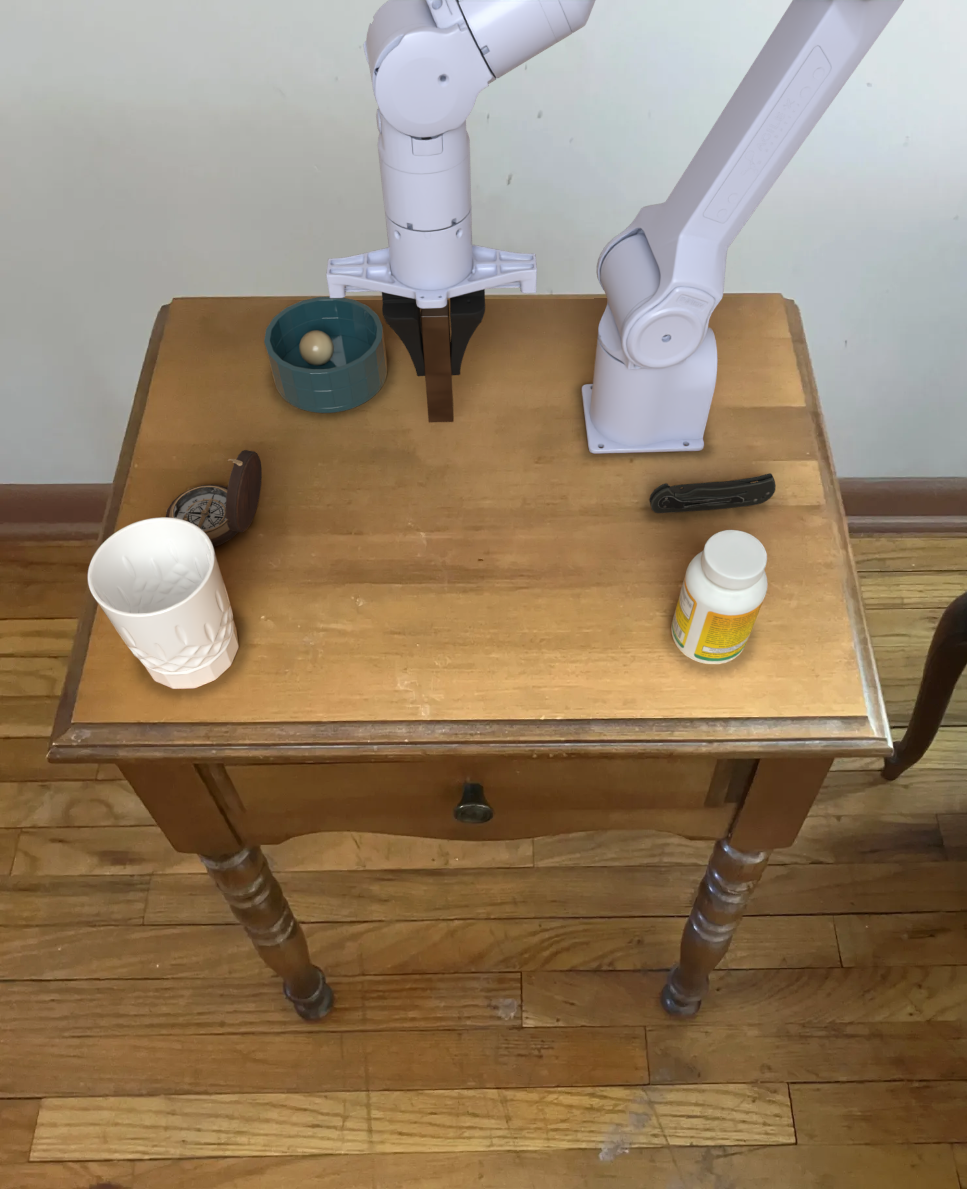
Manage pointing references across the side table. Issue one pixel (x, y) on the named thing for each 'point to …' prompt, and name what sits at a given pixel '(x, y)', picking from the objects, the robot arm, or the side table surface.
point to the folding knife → (712, 495)
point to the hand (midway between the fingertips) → (438, 367)
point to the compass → (223, 501)
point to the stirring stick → (437, 363)
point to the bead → (316, 348)
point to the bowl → (351, 366)
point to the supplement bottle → (720, 598)
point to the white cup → (167, 600)
